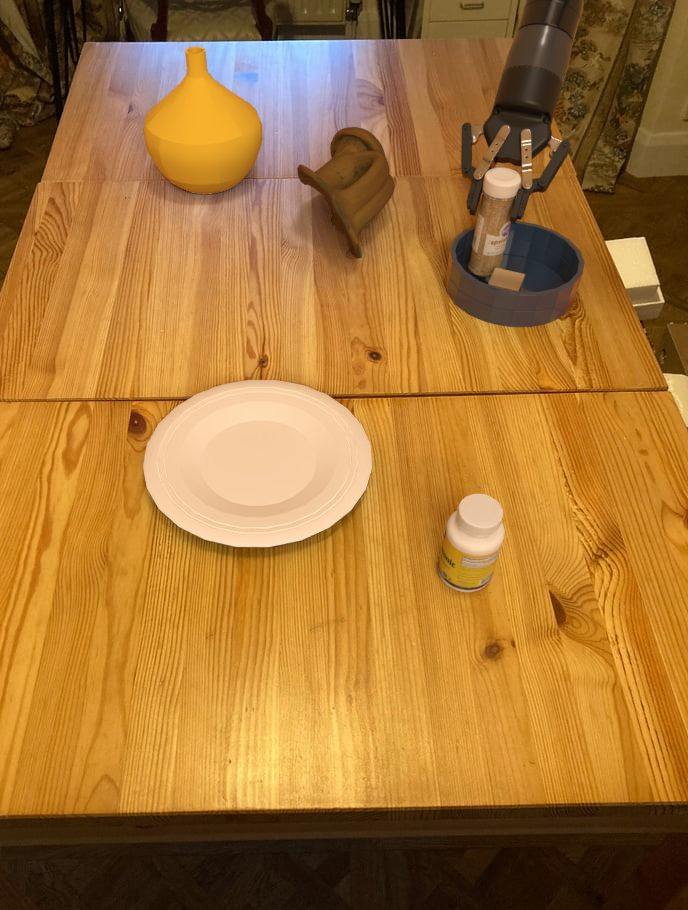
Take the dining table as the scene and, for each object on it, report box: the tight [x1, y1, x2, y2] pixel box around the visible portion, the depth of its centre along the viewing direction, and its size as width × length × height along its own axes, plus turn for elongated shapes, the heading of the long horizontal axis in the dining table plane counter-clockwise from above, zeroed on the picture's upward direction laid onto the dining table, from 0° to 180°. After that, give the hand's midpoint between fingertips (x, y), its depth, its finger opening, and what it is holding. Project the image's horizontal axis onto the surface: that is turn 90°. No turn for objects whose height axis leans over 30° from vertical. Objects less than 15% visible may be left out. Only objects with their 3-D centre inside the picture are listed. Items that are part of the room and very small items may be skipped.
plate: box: [142, 379, 373, 549], centre depth 84 cm, size 25×25×2 cm
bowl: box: [444, 220, 585, 328], centre depth 104 cm, size 17×17×6 cm
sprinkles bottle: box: [468, 166, 522, 277], centre depth 100 cm, size 5×5×13 cm
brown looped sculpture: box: [296, 126, 396, 259], centre depth 112 cm, size 18×13×22 cm
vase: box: [142, 46, 263, 195], centre depth 117 cm, size 18×18×19 cm
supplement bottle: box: [437, 493, 506, 593], centre depth 73 cm, size 5×5×10 cm
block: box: [488, 268, 525, 292], centre depth 101 cm, size 4×4×4 cm
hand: (492, 217), depth 97 cm, fingers closed on sprinkles bottle, 4 cm apart
